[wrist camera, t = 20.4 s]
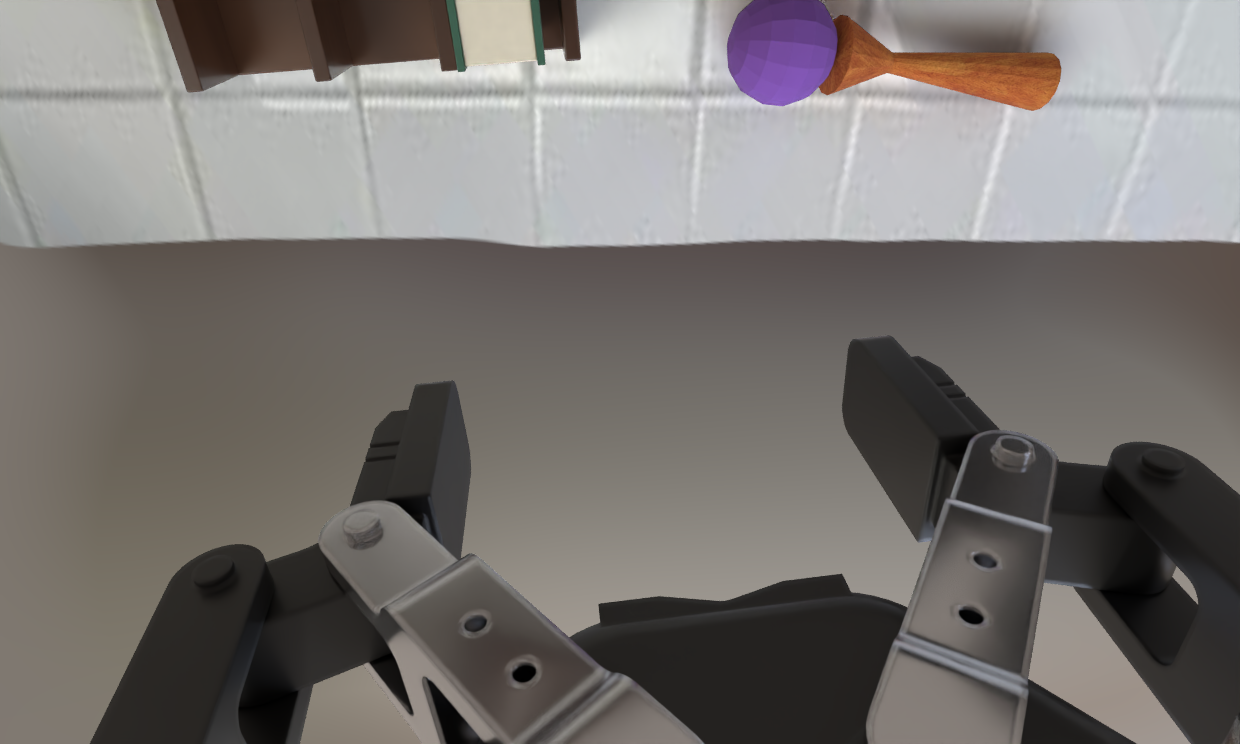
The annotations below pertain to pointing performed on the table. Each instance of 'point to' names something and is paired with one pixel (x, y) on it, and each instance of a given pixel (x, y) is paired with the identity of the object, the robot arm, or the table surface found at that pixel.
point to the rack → (324, 35)
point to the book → (495, 32)
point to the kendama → (865, 59)
